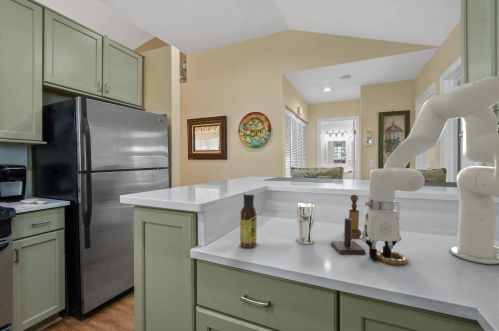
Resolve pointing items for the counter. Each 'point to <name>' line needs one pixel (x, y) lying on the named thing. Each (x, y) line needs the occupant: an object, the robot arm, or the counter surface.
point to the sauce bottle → (248, 222)
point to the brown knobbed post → (354, 218)
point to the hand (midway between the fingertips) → (379, 258)
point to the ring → (392, 261)
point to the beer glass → (305, 222)
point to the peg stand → (347, 241)
